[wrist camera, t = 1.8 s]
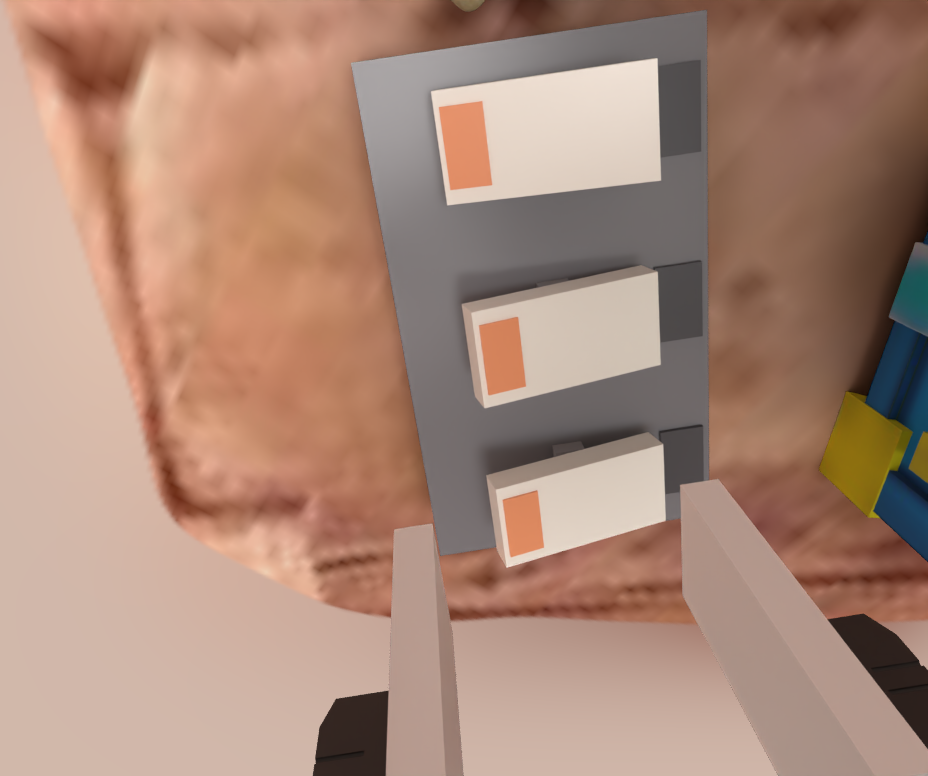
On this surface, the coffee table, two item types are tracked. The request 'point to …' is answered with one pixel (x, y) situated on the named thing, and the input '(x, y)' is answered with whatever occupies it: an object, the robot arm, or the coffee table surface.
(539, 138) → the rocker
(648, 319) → the rocker
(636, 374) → the rocker switch panel
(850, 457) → the decorative book
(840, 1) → the coffee table surface
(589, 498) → the small box
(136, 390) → the coffee table surface
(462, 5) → the grey ribbed rounded piece
